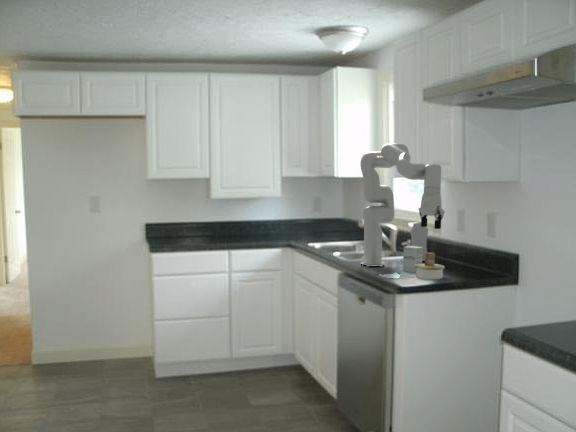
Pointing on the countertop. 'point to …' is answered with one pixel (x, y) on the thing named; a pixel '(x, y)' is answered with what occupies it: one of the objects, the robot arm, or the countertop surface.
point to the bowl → (429, 274)
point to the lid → (429, 263)
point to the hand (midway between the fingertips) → (430, 227)
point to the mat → (404, 276)
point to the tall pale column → (419, 237)
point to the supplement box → (412, 258)
